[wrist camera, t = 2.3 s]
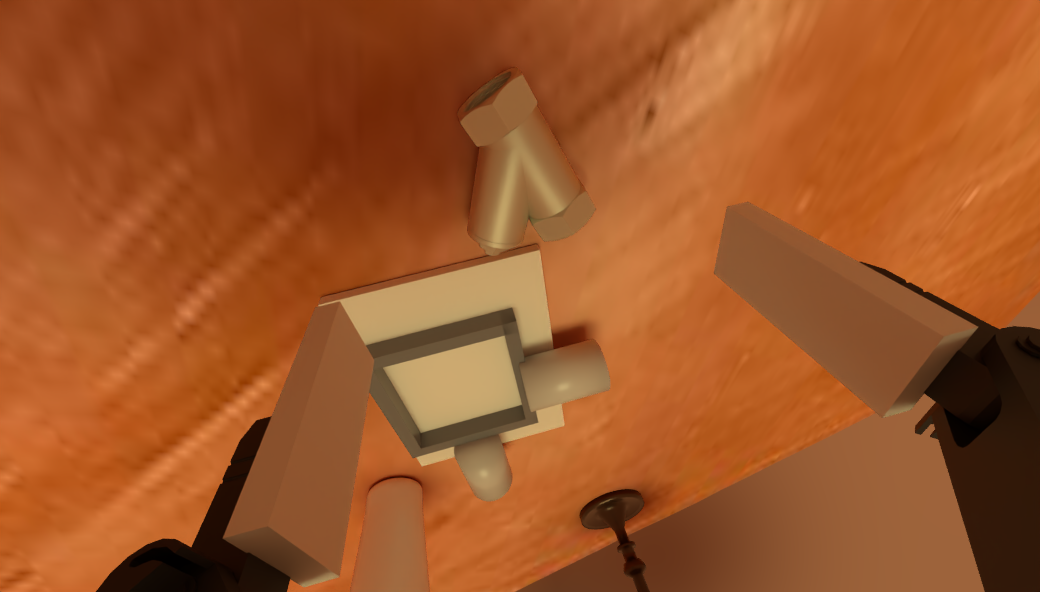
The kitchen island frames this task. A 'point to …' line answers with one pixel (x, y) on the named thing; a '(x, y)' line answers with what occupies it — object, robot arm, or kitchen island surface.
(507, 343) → the coupling board
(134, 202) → the kitchen island surface
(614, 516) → the candlestick
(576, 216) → the pipe fitting
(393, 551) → the drinking glass
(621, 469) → the kitchen island surface
